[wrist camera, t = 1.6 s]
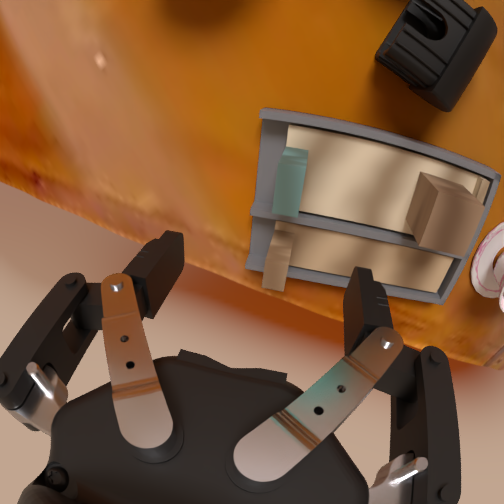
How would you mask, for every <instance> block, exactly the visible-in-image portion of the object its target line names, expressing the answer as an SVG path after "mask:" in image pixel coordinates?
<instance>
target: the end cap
mask: <svg viewBox="0 0 504 504" xmlns="http://www.w3.org/2000/svg"><path fill="white" fill-rule="evenodd" d="M496 35H497V26H496V24H495V21H494V20H493V18H492V17H491V15H490V14H489V13H488V11H487V10H486V9H485V8H484V7H483V6H482V7H478V8H475V9H473V8H472V7H470V6H469V5H468V4H467V3H466V2H465V1H464V0H410V1H409V3H408V4H407V6H406V7H405V9H404V10H403V12H402V13H401V15H400V16H399V18H398V20H397V21H396V23H395V24H394V26H393V27H392V29H391V30H390V32H389V33H388V35H387V36H386V38H385V40H384V41H383V43H382V44H381V46H380V47H379V49H378V50H377V52H376V54H375V58H376V60H377V61H378V62H379V63H381V64H382V65H384V66H385V67H387V68H388V69H389V70H391V71H392V72H394V73H395V74H396V75H398V76H399V77H400V78H402V79H403V80H404V81H406V82H407V83H408V84H410V86H409V89H411V90H412V91H413V92H415V93H416V94H417V95H419V96H420V97H421V98H423V99H424V100H426V101H427V102H428V103H430V104H432V105H433V106H435V107H436V108H438V109H440V110H442V111H444V112H451V111H452V109H453V107H454V106H455V104H456V103H457V101H458V100H459V98H460V97H461V95H462V93H463V92H464V90H465V89H466V87H467V85H468V84H469V82H470V81H471V79H472V77H473V76H474V74H475V72H476V71H477V69H478V67H479V65H480V64H481V62H482V60H483V59H484V57H485V55H486V53H487V52H488V50H489V48H490V46H491V44H492V43H493V41H494V39H495V37H496Z"/></svg>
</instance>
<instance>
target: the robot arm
mask: <svg viewBox="0 0 504 504" xmlns="http://www.w3.org/2000/svg"><path fill="white" fill-rule="evenodd" d="M183 267H184V239H183V234H182V233H180V232H174V231H169V230H167V231H165V232H164V234H163V235H162V236H161V237H160V238H159V239H153V240H152V241H150V242H148V243H146V245H145V246H144V247H143V248H142V249H141V251H140V252H139V253H138V254H137V256H136V257H134V259H133V260H132V261H131V262H130V263H129V264H128V266H127V267H126V268H125V269H124V271H123V272H122V273H116V274H112V275H109V276H107V277H106V278H105V279H104V280H103V281H102V283H86V280H85V277H84V275H82V274H81V273H70V274H67V275H65V276H63V277H62V278H61V279H60V280H59V281H58V282H57V284H56V285H55V286H54V287H53V288H52V289H51V291H50V292H49V293H48V294H47V296H46V297H45V298H44V299H43V300H42V302H41V303H40V304H39V306H38V307H37V308H36V309H35V311H34V312H33V313H32V315H31V316H30V317H29V318H28V320H27V321H26V322H25V324H24V325H23V326H22V328H21V329H20V331H19V332H18V333H17V335H16V336H15V338H14V339H13V340H12V342H11V343H10V345H9V346H8V348H7V349H6V351H5V352H4V354H3V355H2V356H1V358H0V403H1V405H2V406H3V407H4V408H5V409H6V410H7V411H8V412H9V413H10V414H11V415H12V416H13V417H14V418H16V419H17V420H18V421H20V422H21V423H23V424H24V425H25V426H26V427H27V428H28V429H30V430H32V431H42V432H44V433H45V434H48V435H49V436H51V450H50V456H49V461H48V464H47V466H46V468H45V469H44V470H43V472H42V473H41V474H40V475H39V476H38V477H37V478H36V479H35V480H34V481H33V482H32V483H30V484H29V485H28V486H27V487H26V488H25V489H24V490H23V492H22V494H21V496H20V498H19V501H18V503H17V504H457V503H458V501H459V499H460V495H461V458H460V440H459V429H458V419H457V410H456V403H455V396H454V389H453V383H452V377H451V372H450V367H449V362H448V358H447V356H446V355H445V353H444V352H443V351H442V350H440V349H439V348H437V347H434V346H427V347H425V348H424V349H423V350H422V351H421V352H419V351H416V350H414V349H412V348H409V347H407V346H405V345H404V343H403V339H402V337H401V336H400V334H399V333H398V332H396V331H395V330H394V329H393V324H392V318H391V313H390V308H389V307H388V306H389V304H388V300H387V294H386V290H385V288H384V287H383V286H382V284H381V283H380V282H379V281H374V279H373V274H372V270H371V269H369V268H364V267H358V266H355V267H354V269H353V272H352V275H351V278H350V280H349V283H348V286H347V289H346V291H345V295H344V300H343V313H344V342H345V343H344V345H345V346H344V348H345V356H344V357H343V358H342V359H341V360H340V361H339V362H338V363H336V365H334V366H333V367H332V368H331V369H330V370H329V371H328V372H327V373H326V374H325V375H324V376H322V377H321V378H320V379H319V380H318V381H317V382H316V383H315V384H313V385H312V386H311V387H310V388H309V389H308V390H307V391H305V392H303V391H302V390H301V389H300V388H298V387H297V386H295V385H293V384H292V383H289V382H287V381H286V378H287V373H282V372H277V371H272V370H267V369H261V368H230V367H227V366H225V365H223V364H221V363H219V362H217V361H215V360H213V359H211V358H209V357H207V356H205V355H200V354H197V353H193V352H189V351H186V350H182V349H181V350H180V352H179V354H178V356H167V357H161V358H158V359H155V360H152V358H151V354H150V351H149V347H148V343H147V340H146V336H145V333H144V329H143V325H142V320H143V318H144V317H147V318H150V319H154V317H155V315H156V313H157V312H158V310H159V309H160V307H161V305H162V304H163V302H164V300H165V298H166V297H167V295H168V294H169V292H170V290H171V289H172V287H173V285H174V284H175V282H176V280H177V279H178V277H179V276H180V274H181V272H182V270H183ZM69 318H71V320H70V322H69V323H68V324H67V326H66V328H65V329H64V330H63V327H64V325H65V324H66V322H67V321H68V319H69ZM98 330H103V337H104V344H105V351H106V357H107V363H108V367H109V374H110V380H111V381H110V382H108V383H106V384H104V385H102V386H100V387H98V388H96V389H94V390H92V391H90V392H88V393H86V394H84V395H82V396H80V397H78V398H76V399H74V400H71V401H69V402H68V403H67V398H68V390H67V387H66V386H67V384H68V382H69V380H70V379H71V377H72V375H73V373H74V371H75V370H76V368H77V365H78V364H79V362H80V361H81V359H82V357H83V355H84V354H85V352H86V350H87V348H88V347H89V345H90V343H91V342H92V340H93V338H94V337H95V335H96V333H97V332H98ZM373 388H375V389H377V390H379V391H382V392H385V393H387V394H389V395H391V435H390V436H391V437H390V456H389V463H387V464H386V465H384V466H383V467H381V469H380V470H379V471H378V473H377V475H376V479H375V482H374V484H373V485H372V487H371V488H368V485H367V482H366V480H365V478H364V477H363V475H362V474H361V473H360V471H359V469H358V468H357V467H356V465H355V464H354V462H353V461H352V460H351V458H350V457H349V455H348V454H347V452H346V451H345V449H344V448H343V446H342V445H341V443H340V442H339V441H338V439H337V438H336V436H335V435H334V432H335V431H336V430H337V428H338V427H339V426H340V425H341V424H342V423H343V422H344V421H345V420H346V419H347V418H348V417H349V416H350V415H351V413H352V412H353V411H354V410H355V409H356V408H357V407H358V406H359V404H360V403H361V402H362V401H363V400H364V399H365V398H366V397H367V395H368V394H369V393H370V392H371V391H372V389H373Z"/></svg>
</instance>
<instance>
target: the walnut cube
mask: <svg viewBox="0 0 504 504" xmlns="http://www.w3.org/2000/svg"><path fill="white" fill-rule="evenodd" d="M484 209H485V207H484V206H483V204H482V203H481V202H480V201H479V200H478V199H477V198H476V197H475V196H473V195H472V194H471V193H470V192H469V191H468V190H467V189H466V188H465V187H464V186H463V185H461V184H458V183H455V182H452V181H449V180H446V179H443V178H440V177H437V176H434V175H431V174H428V173H424V172H421V171H420V174H419V177H418V181H417V184H416V187H415V191H414V194H413V197H412V200H411V203H410V207H409V210H408V213H407V216H406V218H405V219H406V221H407V223H408V225H409V227H410V229H411V231H412V233H413V235H414V237H415V239H416V241H417V243H418V246H421V247H425V248H429V249H433V250H437V251H442V252H446V253H450V254H454V255H458V256H462V257H464V256H465V253H466V251H467V249H468V247H469V245H470V243H471V240H472V238H473V236H474V234H475V231H476V229H477V227H478V224H479V222H480V219H481V217H482V214H483V212H484Z"/></svg>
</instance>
